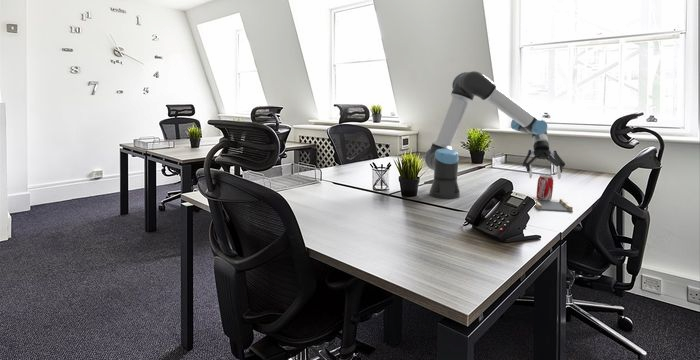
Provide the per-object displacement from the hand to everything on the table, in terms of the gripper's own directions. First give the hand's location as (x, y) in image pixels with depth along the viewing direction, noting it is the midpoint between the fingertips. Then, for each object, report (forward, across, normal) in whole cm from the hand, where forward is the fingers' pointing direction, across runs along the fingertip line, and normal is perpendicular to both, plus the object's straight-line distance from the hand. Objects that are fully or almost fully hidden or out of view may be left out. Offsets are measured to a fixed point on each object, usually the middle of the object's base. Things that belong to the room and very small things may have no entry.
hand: (545, 177), depth 212 cm
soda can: (+12, +1, -3) cm, 12 cm away
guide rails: (+21, +1, +7) cm, 22 cm away
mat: (+21, +1, +7) cm, 22 cm away
